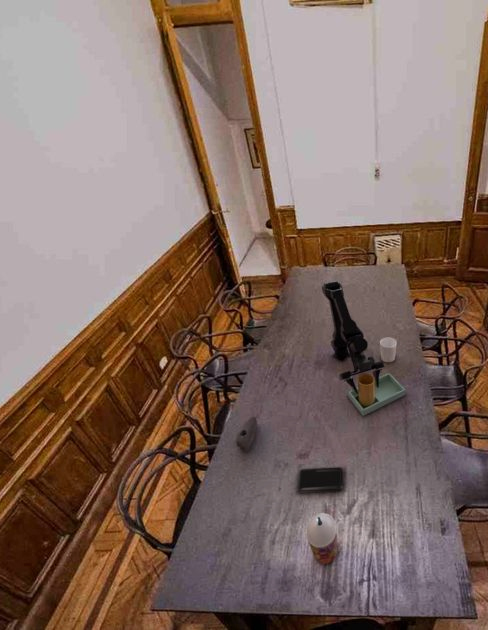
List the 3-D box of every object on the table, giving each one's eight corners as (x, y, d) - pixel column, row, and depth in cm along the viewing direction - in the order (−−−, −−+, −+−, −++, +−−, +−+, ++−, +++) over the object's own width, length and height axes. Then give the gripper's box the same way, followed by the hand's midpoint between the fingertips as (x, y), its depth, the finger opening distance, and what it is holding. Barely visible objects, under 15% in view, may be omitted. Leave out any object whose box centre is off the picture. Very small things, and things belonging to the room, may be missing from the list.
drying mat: (363, 410, 141) (363, 410, 141) (354, 398, 147) (353, 397, 147) (379, 402, 144) (379, 402, 144) (369, 390, 150) (369, 390, 150)
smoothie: (323, 530, 104) (316, 495, 93) (345, 547, 100) (341, 513, 88) (305, 556, 98) (295, 522, 87) (328, 576, 94) (321, 543, 83)
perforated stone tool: (250, 422, 139) (247, 410, 135) (263, 423, 138) (259, 412, 134) (235, 455, 126) (230, 443, 123) (248, 456, 126) (244, 445, 122)
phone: (342, 489, 113) (297, 490, 113) (342, 490, 114) (298, 492, 114) (342, 466, 120) (300, 468, 120) (343, 468, 120) (300, 470, 120)
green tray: (363, 416, 139) (362, 410, 137) (348, 397, 148) (347, 391, 146) (405, 395, 148) (405, 389, 146) (388, 378, 157) (388, 372, 155)
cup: (355, 398, 146) (354, 377, 140) (368, 391, 149) (368, 371, 142) (364, 408, 141) (363, 387, 135) (377, 401, 144) (377, 380, 138)
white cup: (395, 364, 164) (395, 348, 159) (378, 362, 166) (378, 346, 160) (396, 353, 170) (397, 338, 165) (381, 352, 172) (381, 336, 166)
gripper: (339, 358, 133) (350, 398, 130) (382, 346, 138) (394, 383, 135) (334, 361, 143) (345, 397, 141) (375, 349, 148) (385, 384, 146)
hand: (367, 391), depth 140 cm, fingers open, 9 cm apart
